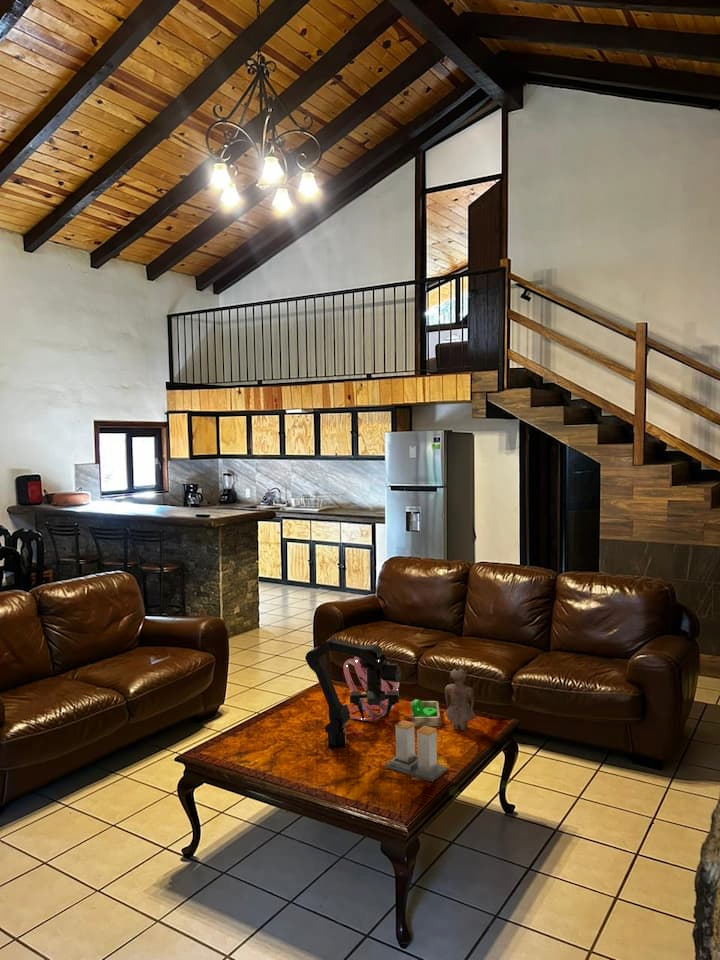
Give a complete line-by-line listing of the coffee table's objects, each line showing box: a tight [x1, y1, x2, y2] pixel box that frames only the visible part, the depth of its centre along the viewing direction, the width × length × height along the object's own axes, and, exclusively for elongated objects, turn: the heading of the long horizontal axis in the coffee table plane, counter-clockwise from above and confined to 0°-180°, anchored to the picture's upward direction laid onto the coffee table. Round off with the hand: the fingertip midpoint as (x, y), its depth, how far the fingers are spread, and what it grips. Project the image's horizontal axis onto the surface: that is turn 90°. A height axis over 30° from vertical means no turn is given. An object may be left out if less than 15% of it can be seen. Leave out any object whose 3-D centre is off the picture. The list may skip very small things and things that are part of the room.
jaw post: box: [394, 719, 416, 765], centre depth 259 cm, size 5×5×15 cm
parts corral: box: [410, 700, 441, 727], centre depth 303 cm, size 12×18×4 cm, turn 177°
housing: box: [384, 725, 448, 783], centre depth 256 cm, size 20×10×16 cm, turn 54°
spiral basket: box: [343, 656, 400, 722], centre depth 306 cm, size 28×28×27 cm
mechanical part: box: [410, 698, 437, 717], centre depth 304 cm, size 12×6×8 cm, turn 137°
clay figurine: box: [444, 667, 476, 731], centre depth 290 cm, size 13×10×25 cm
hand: (375, 718), depth 271 cm, fingers open, 9 cm apart
